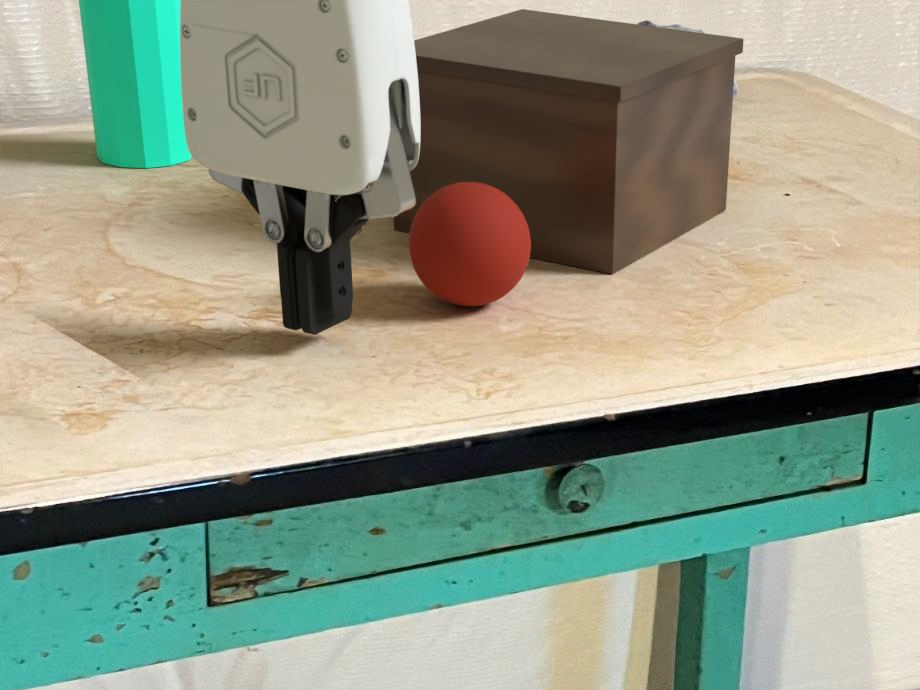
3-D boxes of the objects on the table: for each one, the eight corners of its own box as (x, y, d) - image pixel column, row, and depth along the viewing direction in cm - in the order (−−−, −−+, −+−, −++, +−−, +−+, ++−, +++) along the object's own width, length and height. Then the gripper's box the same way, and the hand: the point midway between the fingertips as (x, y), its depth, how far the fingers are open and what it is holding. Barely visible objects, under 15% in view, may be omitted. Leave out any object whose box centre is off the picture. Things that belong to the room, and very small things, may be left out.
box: (614, 277, 89) (620, 86, 84) (385, 230, 95) (379, 50, 90) (732, 209, 100) (744, 38, 95) (521, 171, 106) (521, 8, 101)
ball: (489, 347, 85) (419, 302, 80) (435, 274, 88) (364, 225, 83) (573, 263, 84) (508, 211, 79) (515, 191, 87) (449, 136, 82)
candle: (79, 153, 107) (55, -48, 101) (164, 138, 111) (145, -56, 105) (127, 173, 104) (104, -34, 98) (213, 157, 107) (195, -43, 101)
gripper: (92, -105, 70) (140, 316, 79) (387, -72, 64) (403, 382, 73) (212, -122, 76) (245, 273, 85) (493, -93, 70) (497, 330, 79)
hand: (318, 322), depth 79 cm, fingers closed
